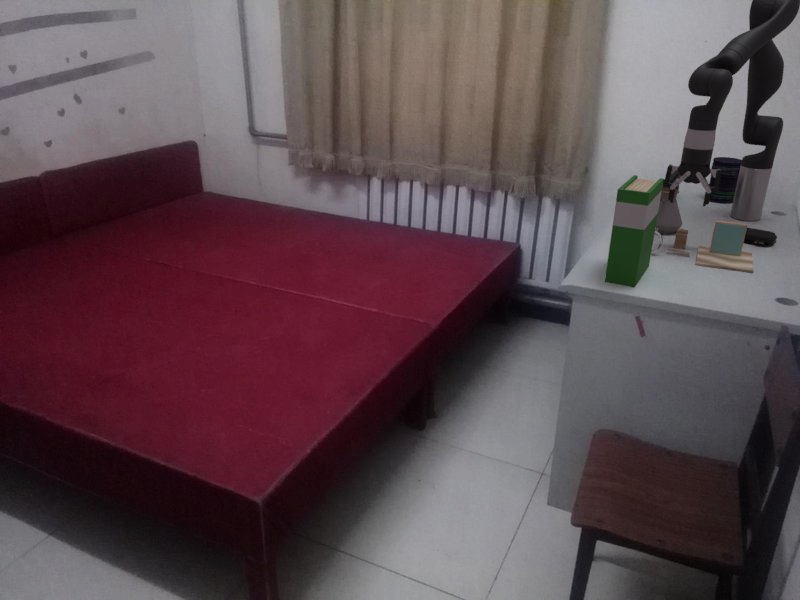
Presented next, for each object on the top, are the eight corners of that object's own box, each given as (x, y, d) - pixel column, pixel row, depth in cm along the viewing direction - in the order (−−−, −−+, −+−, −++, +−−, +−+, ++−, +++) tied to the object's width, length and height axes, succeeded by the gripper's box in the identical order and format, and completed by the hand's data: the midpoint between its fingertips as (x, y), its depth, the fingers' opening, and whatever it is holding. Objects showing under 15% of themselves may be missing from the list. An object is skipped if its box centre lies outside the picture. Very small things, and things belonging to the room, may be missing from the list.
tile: (709, 250, 187) (715, 220, 184) (740, 254, 184) (747, 223, 180) (709, 252, 186) (715, 221, 182) (740, 256, 183) (747, 225, 179)
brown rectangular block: (669, 244, 194) (672, 228, 192) (690, 247, 192) (693, 230, 190) (666, 254, 186) (669, 237, 184) (689, 257, 184) (692, 240, 182)
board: (698, 247, 191) (698, 245, 191) (751, 254, 186) (751, 252, 186) (695, 265, 178) (696, 262, 178) (753, 273, 173) (753, 270, 172)
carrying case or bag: (716, 240, 199) (770, 250, 191) (718, 230, 198) (772, 240, 190) (725, 232, 207) (776, 241, 198) (727, 222, 205) (779, 231, 197)
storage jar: (700, 200, 241) (708, 159, 235) (712, 195, 247) (720, 155, 241) (727, 205, 235) (736, 163, 229) (739, 200, 241) (748, 160, 235)
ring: (660, 254, 186) (665, 227, 183) (659, 257, 183) (663, 230, 180) (635, 250, 189) (639, 223, 186) (633, 253, 187) (637, 226, 183)
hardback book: (621, 261, 180) (634, 175, 171) (648, 266, 177) (663, 178, 167) (604, 281, 166) (617, 189, 157) (634, 287, 163) (649, 193, 153)
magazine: (674, 169, 247) (660, 158, 221) (683, 170, 246) (670, 159, 219) (663, 215, 250) (648, 210, 223) (672, 216, 248) (658, 211, 222)
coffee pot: (648, 222, 214) (656, 177, 208) (685, 229, 208) (693, 182, 202) (626, 238, 199) (634, 190, 193) (665, 246, 192) (674, 196, 186)
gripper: (727, 145, 178) (715, 203, 185) (671, 141, 184) (662, 198, 190) (727, 150, 172) (714, 210, 179) (669, 145, 178) (659, 204, 184)
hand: (687, 204), depth 184 cm, fingers open, 8 cm apart
